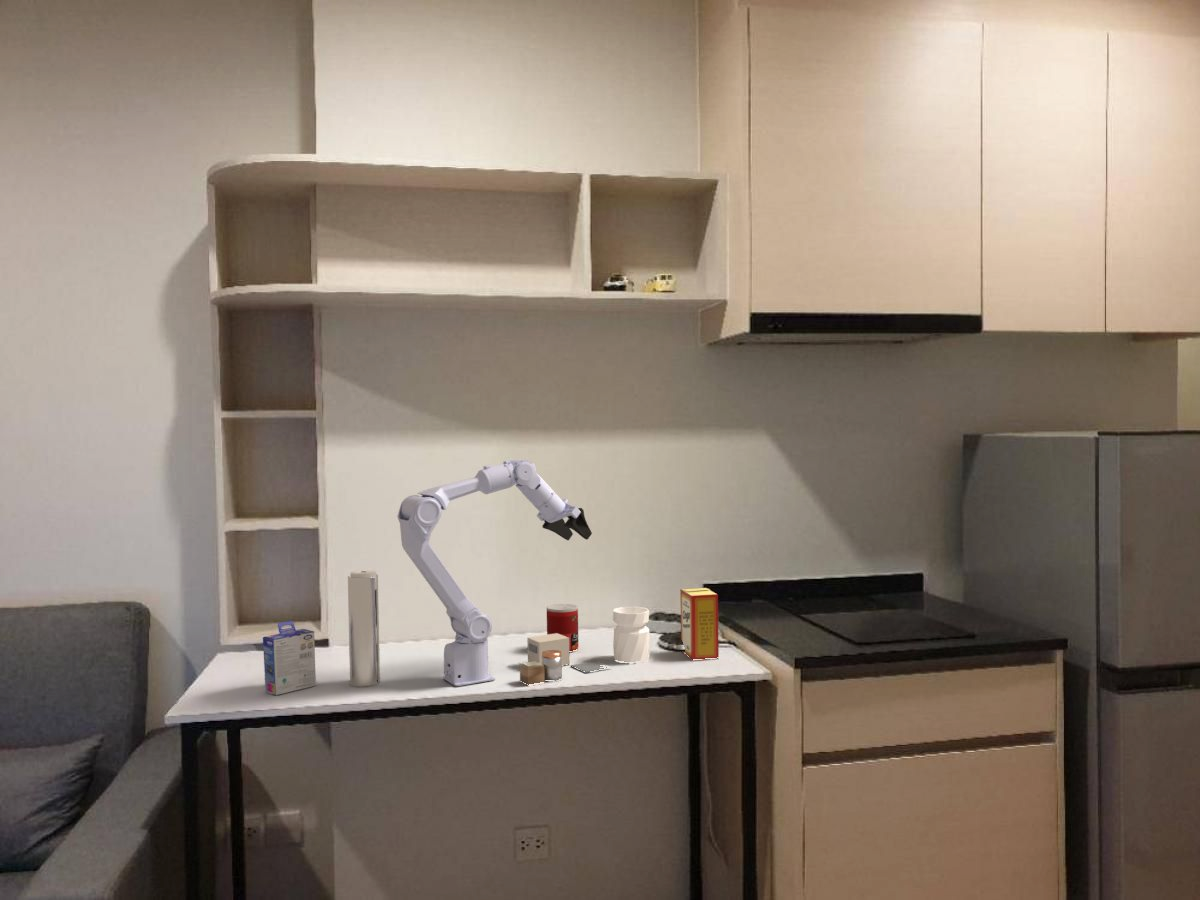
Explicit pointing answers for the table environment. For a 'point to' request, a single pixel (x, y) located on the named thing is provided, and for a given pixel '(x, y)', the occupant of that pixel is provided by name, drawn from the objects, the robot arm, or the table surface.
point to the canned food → (564, 622)
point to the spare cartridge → (552, 664)
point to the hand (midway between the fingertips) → (579, 536)
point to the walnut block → (532, 672)
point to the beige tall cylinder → (363, 628)
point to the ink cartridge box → (289, 660)
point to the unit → (548, 647)
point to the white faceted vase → (631, 634)
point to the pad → (589, 666)
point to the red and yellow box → (699, 623)
